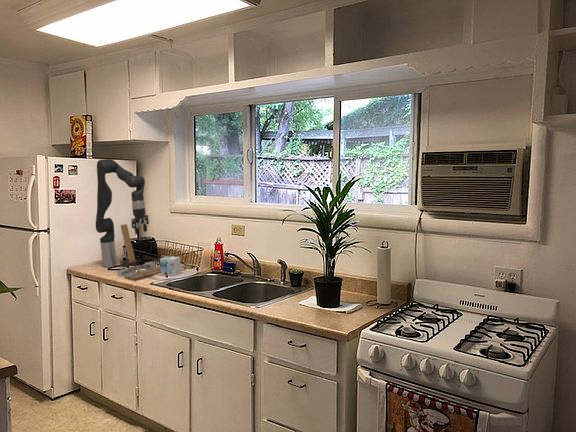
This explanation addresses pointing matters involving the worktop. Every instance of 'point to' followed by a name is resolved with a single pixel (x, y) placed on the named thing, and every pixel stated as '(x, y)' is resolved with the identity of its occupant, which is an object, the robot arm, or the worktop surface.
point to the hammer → (129, 249)
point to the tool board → (140, 276)
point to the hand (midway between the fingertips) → (141, 232)
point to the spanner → (133, 269)
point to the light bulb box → (170, 266)
